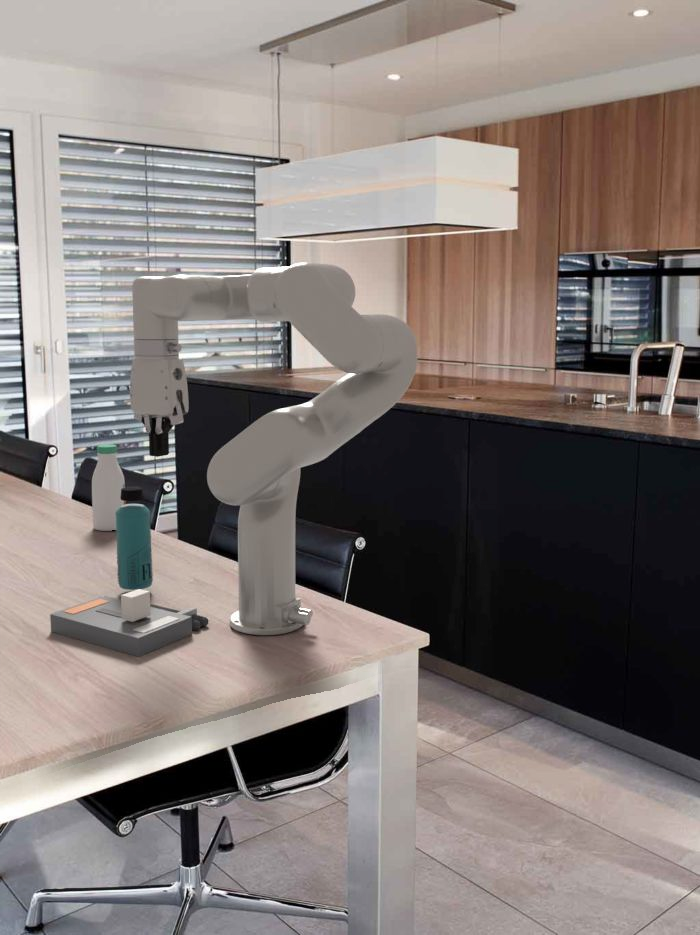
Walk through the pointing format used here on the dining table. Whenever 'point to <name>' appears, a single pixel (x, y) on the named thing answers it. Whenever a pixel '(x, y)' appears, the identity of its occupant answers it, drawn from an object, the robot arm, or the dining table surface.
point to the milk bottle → (106, 488)
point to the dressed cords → (192, 612)
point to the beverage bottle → (133, 542)
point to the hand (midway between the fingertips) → (159, 455)
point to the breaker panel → (120, 626)
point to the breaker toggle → (135, 605)
